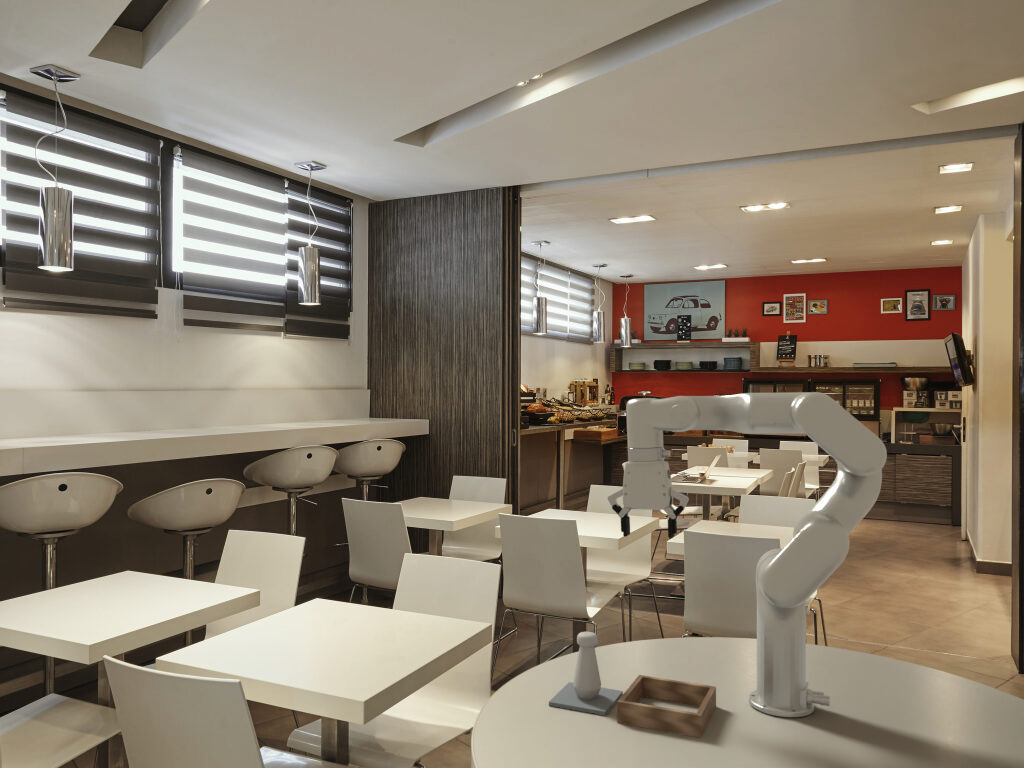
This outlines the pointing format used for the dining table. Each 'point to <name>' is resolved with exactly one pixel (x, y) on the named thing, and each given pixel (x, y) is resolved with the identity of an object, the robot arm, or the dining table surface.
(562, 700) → the mat
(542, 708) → the dining table surface
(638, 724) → the bin
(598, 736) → the dining table surface
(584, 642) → the salt shaker
